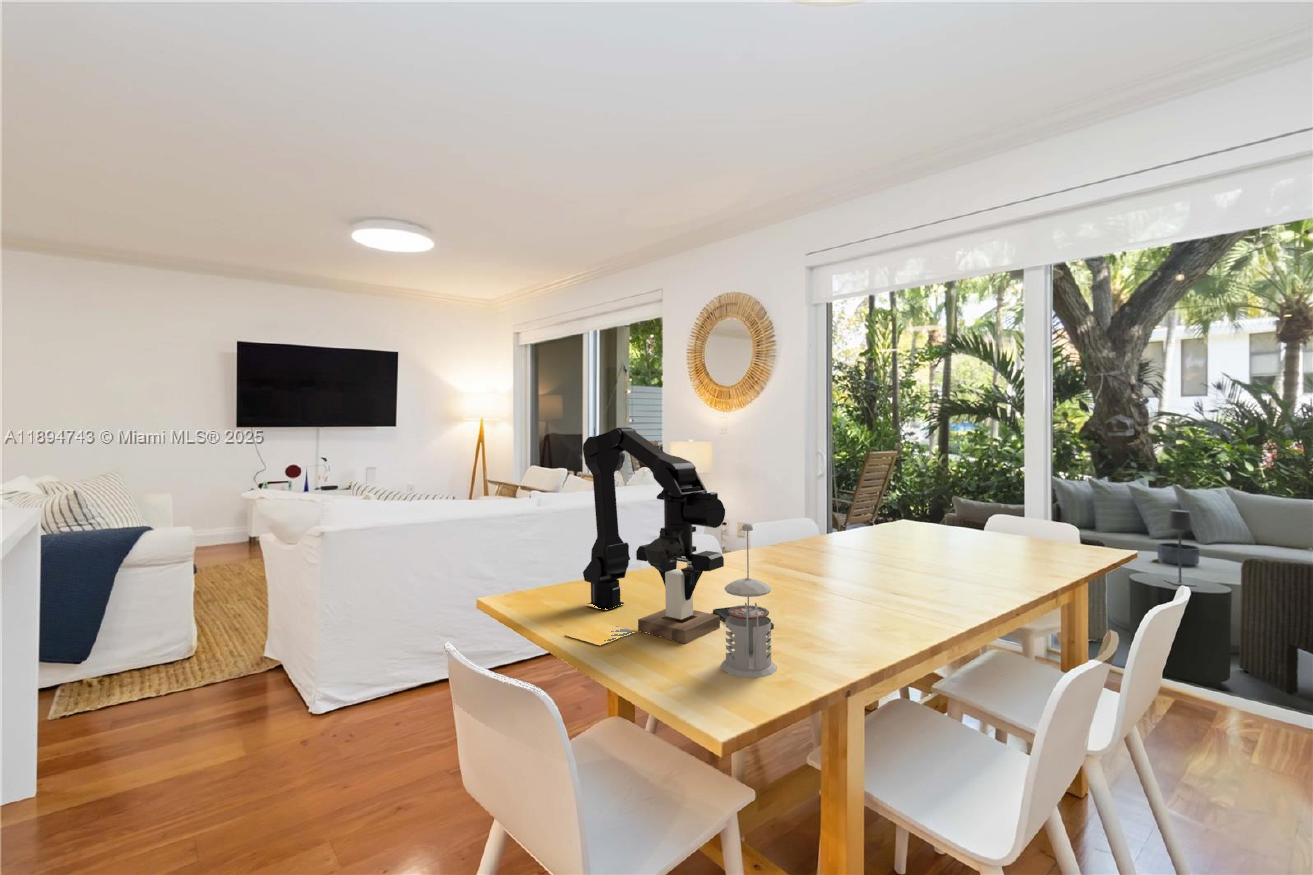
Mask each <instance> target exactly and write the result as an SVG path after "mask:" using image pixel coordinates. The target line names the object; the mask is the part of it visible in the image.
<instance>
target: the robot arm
mask: <svg viewBox="0 0 1313 875" xmlns="http://www.w3.org/2000/svg"><path fill="white" fill-rule="evenodd" d="M623 452H626V453H628V454H629V455H631V456H632V457H633V458H634V459H635V460H636V461H638V462H640V463H641V464H642V465H644V466H645V467H646V468H648V469H649V470H650V471H651V472H652V476H653V479H654V480H655V482H656V483H658V485H659V486H660V487H661V488H663V489H662V490H661V491H660V493H658V494H657V495H656V499H657V500H660V501H661V500H662V501H663V516H664V518H663V520H664V522H663V523H664V524H663V525H664V527H660V530H659V536H658V538H655V539H654V540H653V541H651V542H650V543H647V544H644V545H640V546H638V548H637V550H636V552H635V554H636V555H635V556H636V561H642V562H647V563H648V564H649V565H650V566H651V567H654V568H655V570H657V571H658V572H659V575H660V577H661V579H662V582H663V584H664V586H665V572H668V571H671V570H675V569H677V566H678V565H677V564H678V562H683V563H686V567H682V568H680V569H681V571H682V573H683V574H684V580H685V600H690V598H691V596H692V593H693V594H694V591H695V589H696V586H697V584H698V582H699V580H700V578H701V577H702V574H703V573H704V572H711V571H715V570H717V569H720V568H723V567H724V566H725V563H724V562H725V560H724V556H723V553H721V552H719V551H710V550H705V551H701V552H697V546H695V545H693V533H696V532H697V526H700V527H706V528H712V529H717V528H718V527H720V526H721V525H722V524H723V522H724V520H725V517H726V509H725V506H724V504H723V502H722V501H721V499H719V498H718V497H719V494H718V492H712V491H711V492H708V490H707V488H706V487H705V484H704V483H703V481H702V479H701V478H700V476H699V474H698V472H697V470H696V469H697V467H696V466H695V463H693V462H692V461H689V460H687V459H686V458H683V457H680V456H677V455H676V456H675V455H671V454H669V453H666V452H665V451H663V450H662V449H661V448H659V447H658V446H656V445H655V444H653V443H652V442H651V441H649V440H648V439H646V438H645V437H644V436H642V435H641V434H640V433H638V432H637V431H636V429H634V428H632V427H629V426H628V427H625V426H624V427H615V428H613V429H611V430H610V431H607V432H605V433H604V432H603V433H602V434H601V433H600V434H599V435H595V436H593V435H592V436H588V437H587V438H586V440H585V441H584V442H583V444H582V453H583V458H584V463H585V466H586V467H587V469H588V470H589V472H590V473H591V475H592V482H593V493H594V494H593V496H594V509H595V521H596V522H595V523H596V524H595V525H596V540H595V541H594V544H593V546H592V547H591V548H592V549H591V553H590V554H591V556H590V559H591V560H590V562H589V563H588V564H587V566H586V567H585V569H584V570H583V571H582V574H583V579H584V582H587V583H590V602H587V604H593V605H595V606H597V607H598V608H601V609H605V608H606V609H610V608H613V607H615V606H618V605H621V604H624V605H625V602H624V601H621V586H620V580H621V579H625V578H626V573H627V570H628V568H629V564H630V563H629V562H630V561H631V557H630V551H629V550H630V545H629V543H628V542H624V541H623V540H622V538H621V537H620V532H619V521H618V506H617V496H616V495H617V494H616V493H617V492H616V480H615V472H616V471H617V468H618V466H619V463H620V462H621V460H620V459H621V453H623ZM696 552H697V553H696ZM619 579H620V580H619ZM595 606H594V607H595ZM613 609H614V608H613ZM610 610H611V609H610Z"/></svg>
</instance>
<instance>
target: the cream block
mask: <svg viewBox="0 0 1313 875" xmlns="http://www.w3.org/2000/svg"><path fill="white" fill-rule="evenodd" d="M681 569H682V568H676V569H675V570H671V571H668V572H665V585H664V588H665V591H664V592H665V594H664V595H665V609H666V616H668V617H672V618H676V619H681V620H682V619H684V618H686V617H689V616H691V615H693V610H694V597H693V596H694V595H693V594H694V592H693V593H692V596H691V598H690V600H685V580H684V574H683V573H682V571H681Z"/></svg>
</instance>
